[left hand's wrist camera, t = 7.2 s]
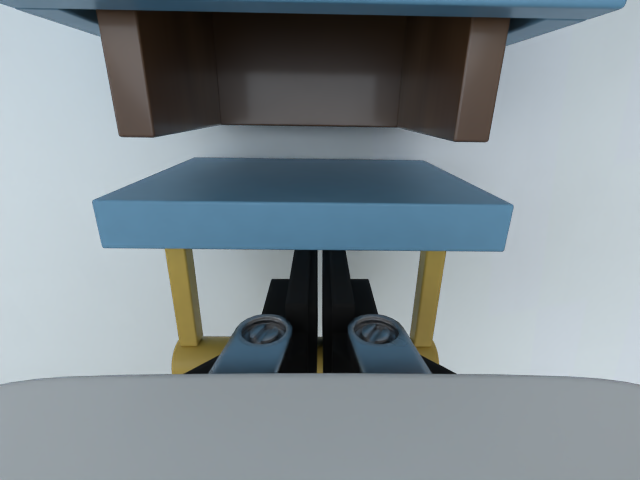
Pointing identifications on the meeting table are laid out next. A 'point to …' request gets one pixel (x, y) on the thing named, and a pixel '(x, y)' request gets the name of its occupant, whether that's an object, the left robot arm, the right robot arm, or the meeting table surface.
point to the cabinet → (342, 10)
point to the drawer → (301, 174)
